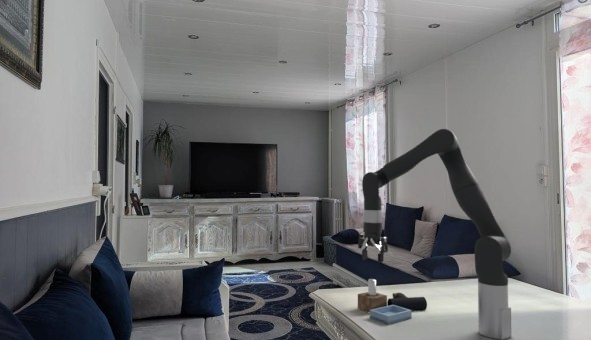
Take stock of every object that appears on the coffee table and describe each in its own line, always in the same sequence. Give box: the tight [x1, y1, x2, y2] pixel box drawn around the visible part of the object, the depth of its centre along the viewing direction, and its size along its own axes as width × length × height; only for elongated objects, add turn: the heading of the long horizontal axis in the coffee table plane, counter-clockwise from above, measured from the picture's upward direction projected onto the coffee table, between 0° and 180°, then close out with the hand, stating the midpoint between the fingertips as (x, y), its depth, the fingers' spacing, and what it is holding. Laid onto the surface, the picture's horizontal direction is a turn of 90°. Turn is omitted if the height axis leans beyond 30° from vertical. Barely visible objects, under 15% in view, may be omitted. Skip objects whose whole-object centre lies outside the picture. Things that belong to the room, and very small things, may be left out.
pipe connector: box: [387, 292, 428, 311], centre depth 167 cm, size 12×5×15 cm
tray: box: [369, 305, 413, 325], centre depth 152 cm, size 9×13×3 cm
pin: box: [367, 278, 377, 297], centre depth 163 cm, size 3×3×12 cm
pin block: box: [357, 291, 388, 314], centre depth 163 cm, size 8×8×6 cm
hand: (372, 261), depth 164 cm, fingers open, 8 cm apart
